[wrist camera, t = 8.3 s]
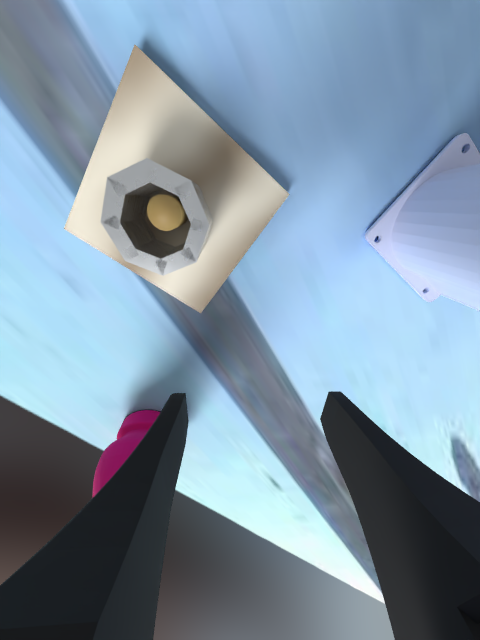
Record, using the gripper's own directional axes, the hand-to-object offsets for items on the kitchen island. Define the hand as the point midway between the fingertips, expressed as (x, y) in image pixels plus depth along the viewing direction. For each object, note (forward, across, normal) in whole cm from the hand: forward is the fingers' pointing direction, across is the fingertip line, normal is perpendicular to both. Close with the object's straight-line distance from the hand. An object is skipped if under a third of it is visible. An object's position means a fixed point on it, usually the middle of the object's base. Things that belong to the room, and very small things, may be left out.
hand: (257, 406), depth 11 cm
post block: (+10, +5, -8) cm, 14 cm away
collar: (+9, +5, -8) cm, 13 cm away
